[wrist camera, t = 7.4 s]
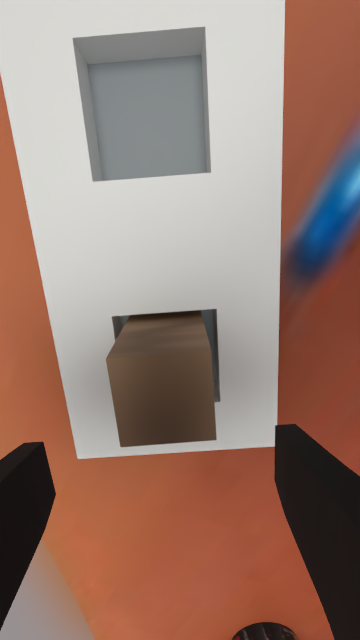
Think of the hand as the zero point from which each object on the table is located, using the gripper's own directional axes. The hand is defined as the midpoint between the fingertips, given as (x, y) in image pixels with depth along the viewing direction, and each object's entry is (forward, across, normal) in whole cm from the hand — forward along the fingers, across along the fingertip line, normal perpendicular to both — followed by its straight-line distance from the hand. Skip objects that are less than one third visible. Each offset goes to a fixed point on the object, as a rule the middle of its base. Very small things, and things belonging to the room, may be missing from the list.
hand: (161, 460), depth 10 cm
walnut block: (+10, 0, 0) cm, 10 cm away
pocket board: (+10, 0, -6) cm, 12 cm away
